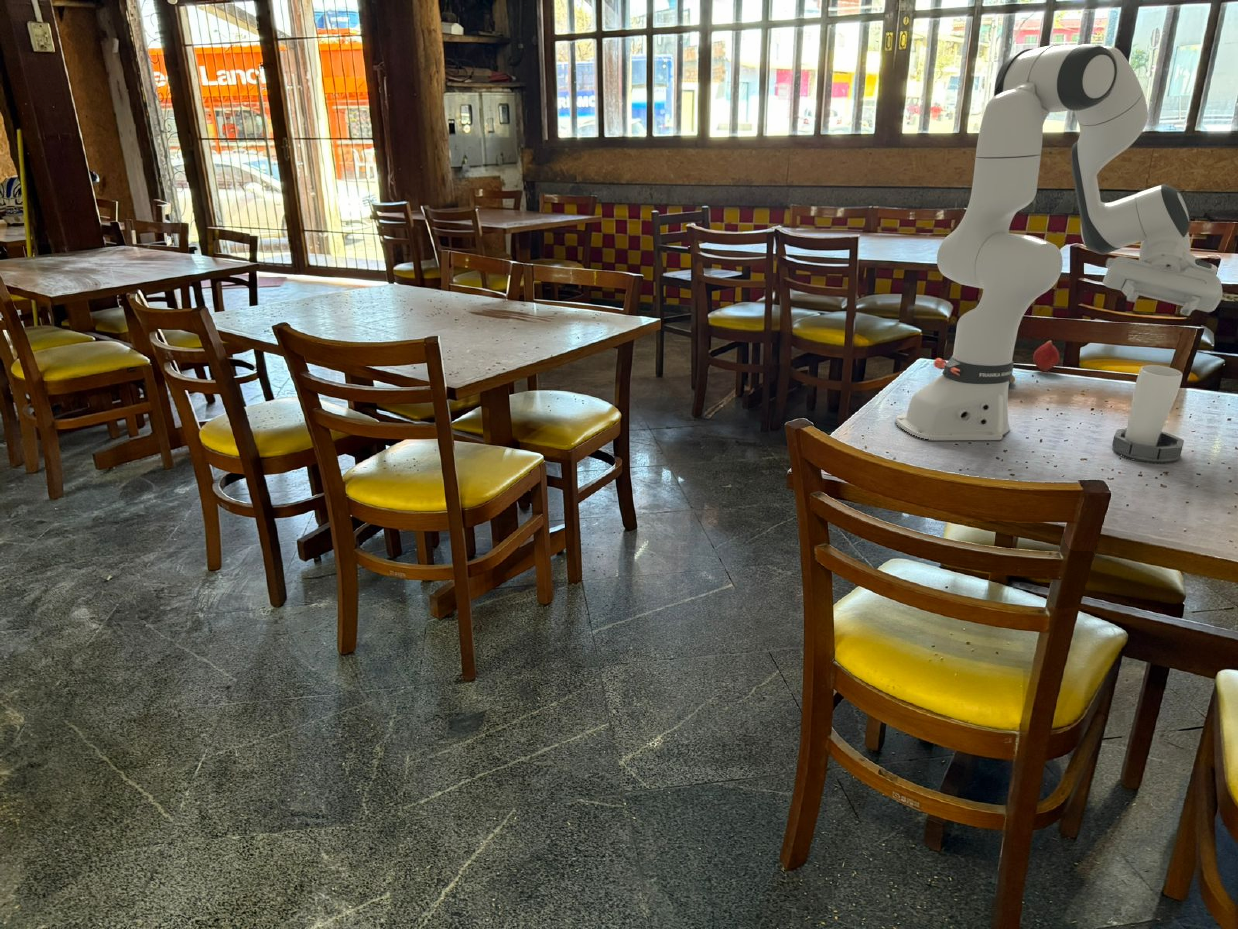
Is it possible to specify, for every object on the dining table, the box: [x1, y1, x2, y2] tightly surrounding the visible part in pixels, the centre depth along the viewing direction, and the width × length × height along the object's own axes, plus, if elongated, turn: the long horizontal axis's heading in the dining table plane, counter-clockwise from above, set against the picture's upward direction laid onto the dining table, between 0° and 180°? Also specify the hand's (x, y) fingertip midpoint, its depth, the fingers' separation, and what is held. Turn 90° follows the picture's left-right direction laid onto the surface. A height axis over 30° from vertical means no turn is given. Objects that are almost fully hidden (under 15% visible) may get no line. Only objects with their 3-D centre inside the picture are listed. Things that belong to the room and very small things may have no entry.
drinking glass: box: [1125, 364, 1183, 447], centre depth 156 cm, size 7×7×15 cm
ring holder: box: [1111, 428, 1185, 465], centre depth 158 cm, size 11×11×3 cm
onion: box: [1032, 340, 1060, 372], centre depth 210 cm, size 6×6×8 cm
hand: (1159, 305), depth 160 cm, fingers open, 8 cm apart
